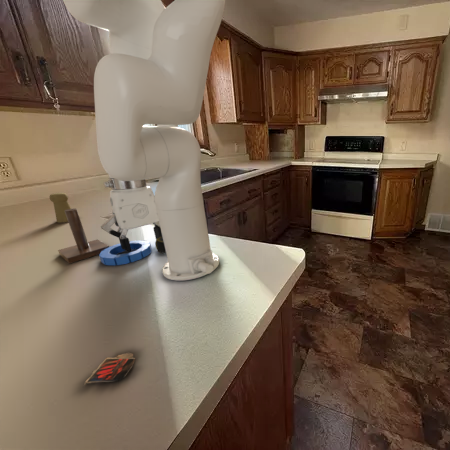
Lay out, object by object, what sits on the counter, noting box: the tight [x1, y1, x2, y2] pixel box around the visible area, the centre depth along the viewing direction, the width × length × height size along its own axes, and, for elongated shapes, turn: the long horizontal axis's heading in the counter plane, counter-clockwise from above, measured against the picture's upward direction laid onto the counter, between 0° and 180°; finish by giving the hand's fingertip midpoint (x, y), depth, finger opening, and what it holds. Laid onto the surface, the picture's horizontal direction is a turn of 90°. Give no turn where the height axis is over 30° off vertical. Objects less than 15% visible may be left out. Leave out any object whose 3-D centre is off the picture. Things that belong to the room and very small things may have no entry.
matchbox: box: [83, 352, 136, 387], centre depth 33 cm, size 5×5×1 cm
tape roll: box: [98, 239, 153, 266], centre depth 66 cm, size 11×11×2 cm
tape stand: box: [57, 208, 110, 264], centre depth 66 cm, size 9×9×12 cm
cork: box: [49, 192, 73, 224], centre depth 96 cm, size 6×6×11 cm
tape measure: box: [154, 236, 166, 254], centre depth 68 cm, size 7×7×4 cm
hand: (144, 244), depth 69 cm, fingers open, 7 cm apart
